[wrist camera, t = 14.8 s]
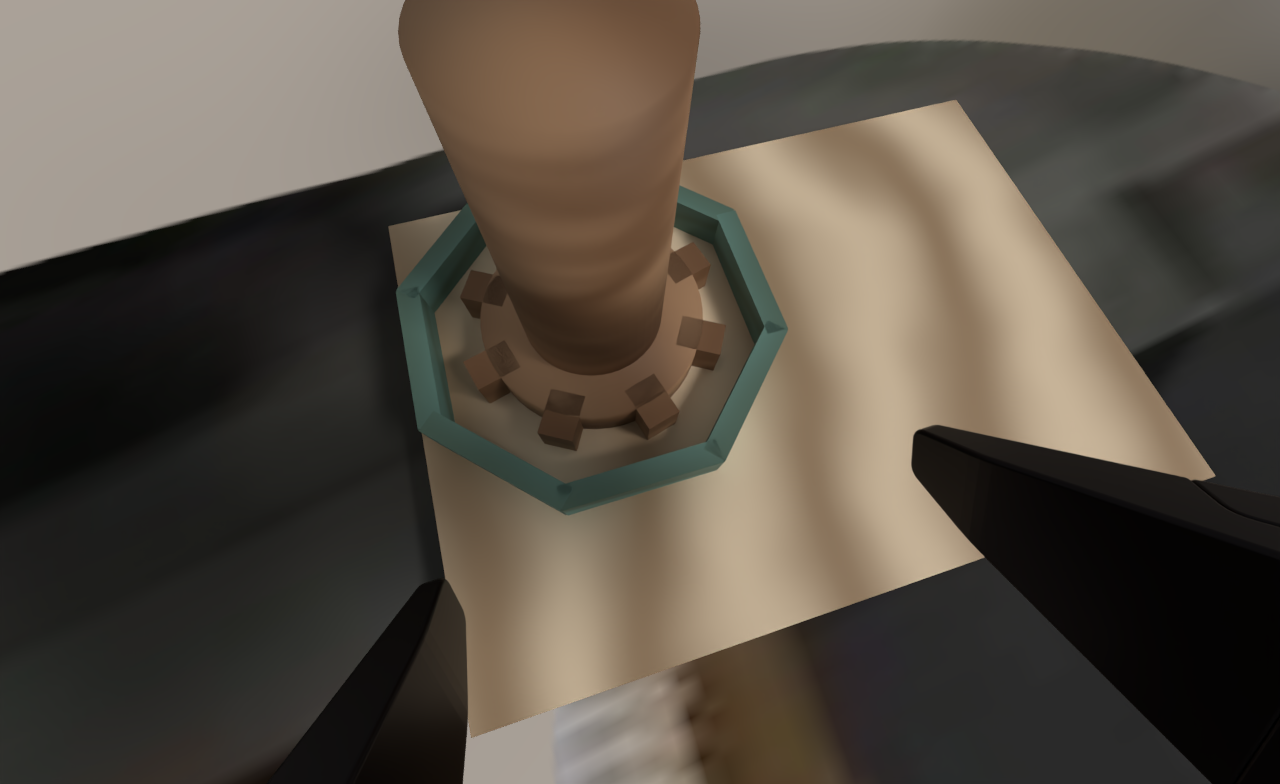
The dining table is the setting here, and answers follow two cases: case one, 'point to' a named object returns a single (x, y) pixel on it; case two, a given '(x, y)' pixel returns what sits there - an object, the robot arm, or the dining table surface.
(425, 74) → the gear
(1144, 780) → the dining table surface
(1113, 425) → the gear board
